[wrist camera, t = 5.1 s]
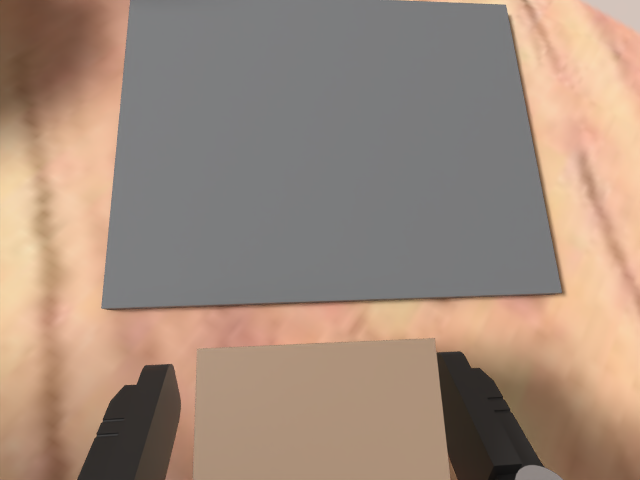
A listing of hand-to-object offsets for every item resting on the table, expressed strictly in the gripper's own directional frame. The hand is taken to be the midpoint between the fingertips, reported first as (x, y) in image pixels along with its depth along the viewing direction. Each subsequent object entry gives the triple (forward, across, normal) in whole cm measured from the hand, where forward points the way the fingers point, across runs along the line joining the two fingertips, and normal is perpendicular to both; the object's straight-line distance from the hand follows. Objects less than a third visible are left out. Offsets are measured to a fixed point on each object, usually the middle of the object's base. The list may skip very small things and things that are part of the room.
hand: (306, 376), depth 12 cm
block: (+3, 0, +4) cm, 5 cm away
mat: (+11, -2, -4) cm, 12 cm away
